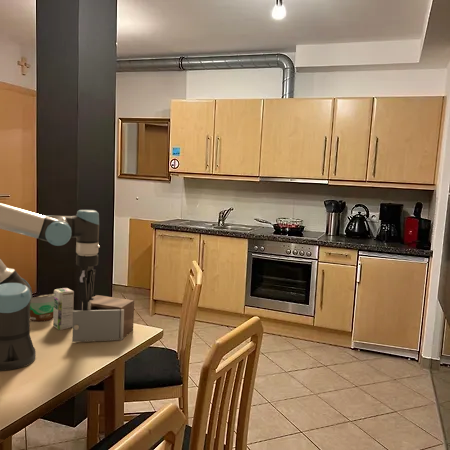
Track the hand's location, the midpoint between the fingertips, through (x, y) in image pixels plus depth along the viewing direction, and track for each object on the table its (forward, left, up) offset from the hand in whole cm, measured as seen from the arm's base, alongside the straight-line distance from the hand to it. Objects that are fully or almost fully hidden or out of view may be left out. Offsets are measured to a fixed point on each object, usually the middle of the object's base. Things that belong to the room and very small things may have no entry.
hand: (86, 318), depth 162 cm
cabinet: (+4, +9, -8) cm, 12 cm away
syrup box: (-14, +7, -8) cm, 18 cm away
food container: (-25, +11, -8) cm, 29 cm away
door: (+6, -1, -7) cm, 9 cm away
